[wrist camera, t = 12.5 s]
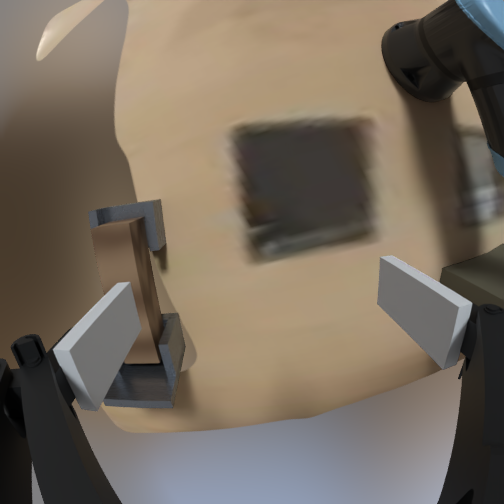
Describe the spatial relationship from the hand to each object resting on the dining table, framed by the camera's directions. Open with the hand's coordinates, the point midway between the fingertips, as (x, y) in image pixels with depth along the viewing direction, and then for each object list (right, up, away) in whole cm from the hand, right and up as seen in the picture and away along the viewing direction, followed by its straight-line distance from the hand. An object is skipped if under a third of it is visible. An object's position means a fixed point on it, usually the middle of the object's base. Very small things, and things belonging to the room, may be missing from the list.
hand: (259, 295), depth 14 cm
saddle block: (-17, +6, +23) cm, 29 cm away
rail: (-16, -2, +23) cm, 28 cm away
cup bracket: (-15, -10, +27) cm, 33 cm away
